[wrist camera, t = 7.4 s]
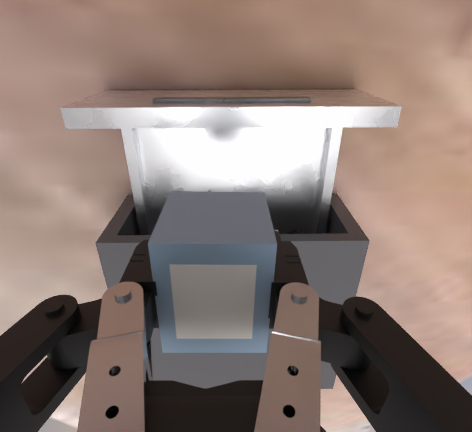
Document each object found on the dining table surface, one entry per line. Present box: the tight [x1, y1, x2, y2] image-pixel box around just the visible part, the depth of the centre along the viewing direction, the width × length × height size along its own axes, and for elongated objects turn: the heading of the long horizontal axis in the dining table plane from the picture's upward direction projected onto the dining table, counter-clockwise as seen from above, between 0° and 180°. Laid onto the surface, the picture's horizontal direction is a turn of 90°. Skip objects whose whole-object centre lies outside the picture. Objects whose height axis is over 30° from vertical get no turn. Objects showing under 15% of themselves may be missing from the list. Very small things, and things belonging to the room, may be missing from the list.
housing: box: [96, 194, 369, 389], centre depth 31 cm, size 18×20×8 cm
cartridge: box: [148, 191, 277, 353], centre depth 13 cm, size 4×5×4 cm
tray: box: [60, 89, 402, 235], centre depth 26 cm, size 18×20×8 cm
